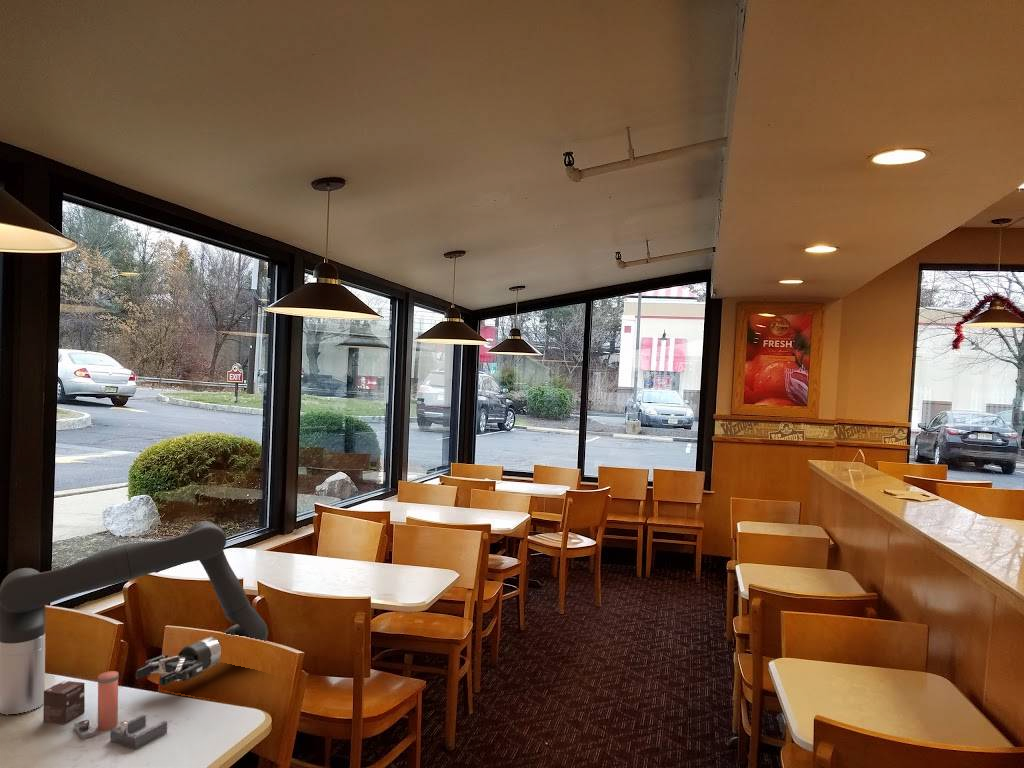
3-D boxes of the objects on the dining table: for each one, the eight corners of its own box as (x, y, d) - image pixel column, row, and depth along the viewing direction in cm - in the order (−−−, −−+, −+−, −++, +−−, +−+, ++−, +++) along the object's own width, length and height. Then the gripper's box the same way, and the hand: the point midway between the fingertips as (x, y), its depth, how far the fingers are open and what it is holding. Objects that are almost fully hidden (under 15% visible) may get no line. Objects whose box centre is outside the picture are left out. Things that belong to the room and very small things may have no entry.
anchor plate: (73, 728, 158) (73, 718, 158) (86, 724, 160) (86, 714, 160) (82, 739, 153) (82, 729, 153) (94, 735, 155) (95, 725, 155)
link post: (94, 726, 159) (95, 674, 159) (115, 720, 162) (115, 669, 162) (100, 733, 156) (100, 680, 156) (120, 726, 159) (121, 674, 159)
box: (64, 725, 159) (64, 693, 159) (42, 722, 160) (42, 691, 160) (85, 712, 165) (85, 682, 165) (64, 710, 166) (64, 679, 166)
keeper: (108, 742, 152) (108, 719, 152) (142, 725, 159) (143, 703, 159) (133, 750, 149) (133, 727, 148) (167, 732, 156) (167, 711, 156)
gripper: (183, 636, 186) (128, 658, 171) (222, 645, 180) (169, 668, 165) (183, 664, 186) (128, 688, 171) (222, 673, 180) (168, 699, 165)
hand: (148, 678), depth 168 cm, fingers open, 8 cm apart
